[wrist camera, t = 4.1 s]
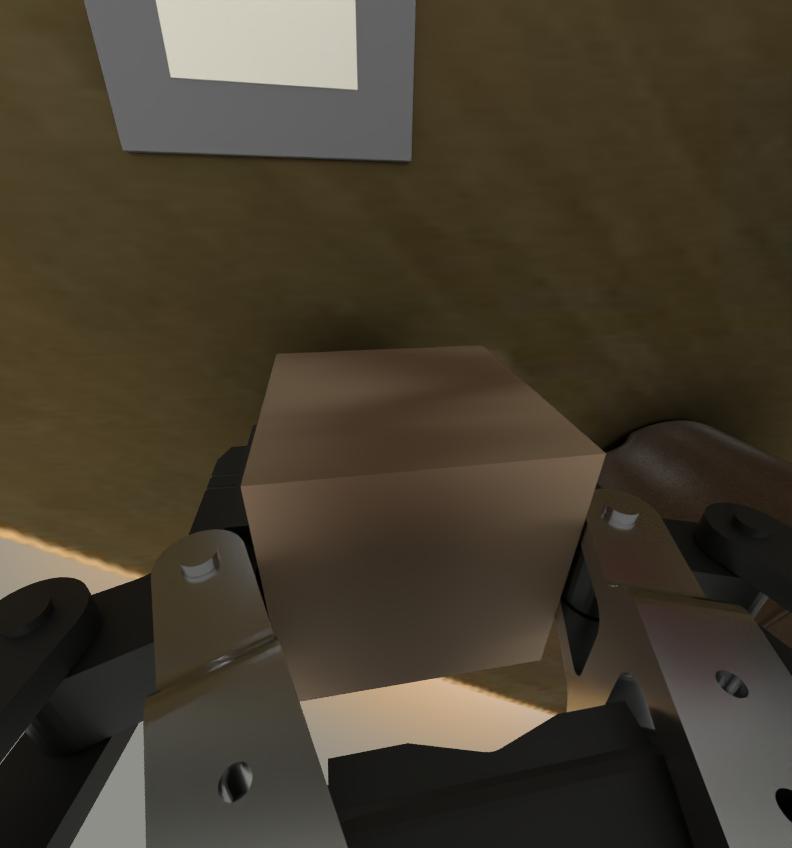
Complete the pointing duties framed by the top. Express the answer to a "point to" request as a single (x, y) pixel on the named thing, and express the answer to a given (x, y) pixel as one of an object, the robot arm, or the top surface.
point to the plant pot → (703, 483)
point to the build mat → (260, 76)
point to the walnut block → (411, 514)
